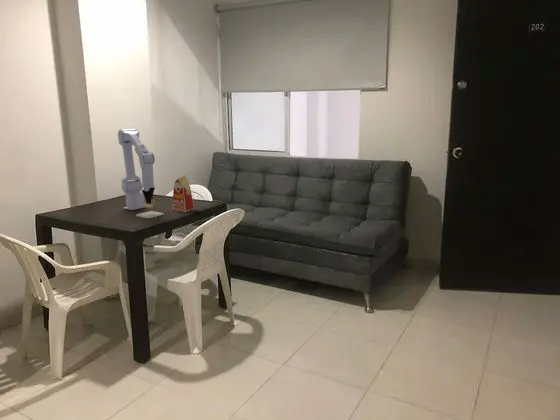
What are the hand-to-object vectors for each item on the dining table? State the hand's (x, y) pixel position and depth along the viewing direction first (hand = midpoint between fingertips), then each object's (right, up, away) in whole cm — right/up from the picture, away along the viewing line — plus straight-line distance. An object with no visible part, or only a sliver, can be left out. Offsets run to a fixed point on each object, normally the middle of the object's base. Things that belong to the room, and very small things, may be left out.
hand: (149, 202), depth 244 cm
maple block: (0, -2, 0) cm, 2 cm away
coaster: (0, -7, +2) cm, 7 cm away
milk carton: (+15, -4, +14) cm, 21 cm away
